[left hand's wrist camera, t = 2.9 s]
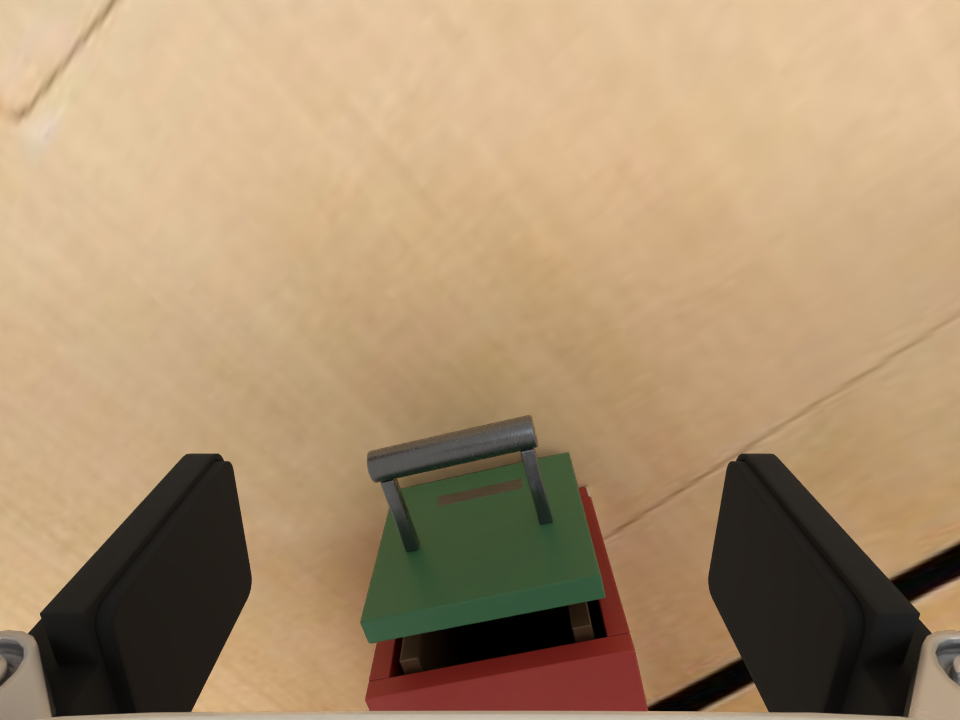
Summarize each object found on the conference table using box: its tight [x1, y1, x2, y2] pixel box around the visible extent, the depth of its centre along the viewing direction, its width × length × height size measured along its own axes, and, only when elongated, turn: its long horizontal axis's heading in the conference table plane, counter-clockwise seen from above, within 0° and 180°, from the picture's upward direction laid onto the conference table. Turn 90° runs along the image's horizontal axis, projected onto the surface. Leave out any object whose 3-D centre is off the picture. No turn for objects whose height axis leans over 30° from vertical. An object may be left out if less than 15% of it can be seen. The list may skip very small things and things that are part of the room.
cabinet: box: [365, 486, 648, 711], centre depth 32 cm, size 19×11×11 cm, turn 15°
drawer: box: [360, 415, 606, 675], centre depth 30 cm, size 23×10×9 cm, turn 15°
